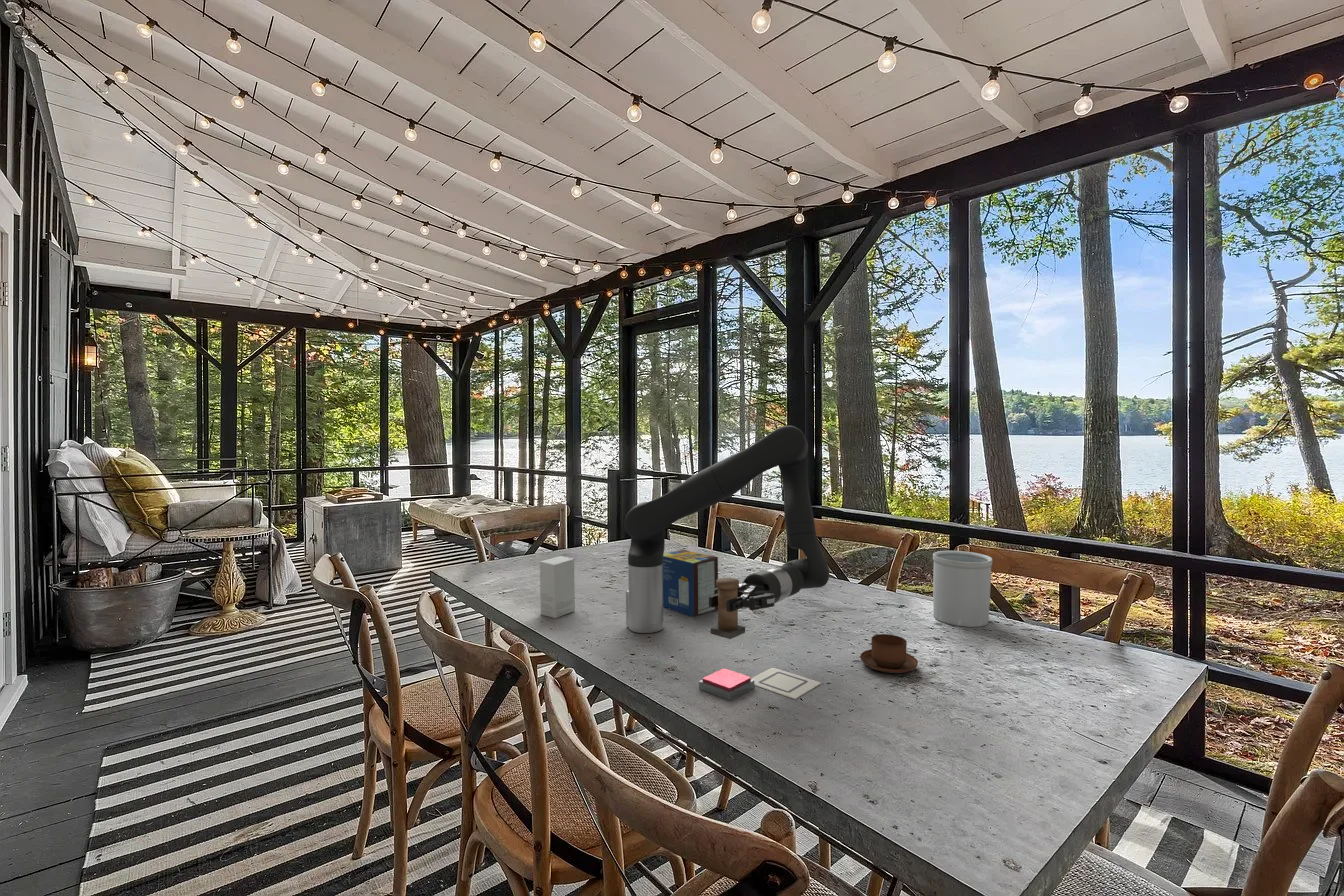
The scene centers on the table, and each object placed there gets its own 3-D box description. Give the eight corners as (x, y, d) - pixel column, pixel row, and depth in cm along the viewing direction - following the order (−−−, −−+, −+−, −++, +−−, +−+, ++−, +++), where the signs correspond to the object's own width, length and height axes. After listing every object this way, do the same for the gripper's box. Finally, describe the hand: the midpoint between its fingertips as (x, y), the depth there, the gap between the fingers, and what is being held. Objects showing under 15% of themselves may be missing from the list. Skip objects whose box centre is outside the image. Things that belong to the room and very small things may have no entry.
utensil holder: (1002, 621, 166) (1003, 557, 166) (972, 632, 158) (973, 564, 157) (951, 608, 179) (952, 548, 178) (920, 617, 170) (921, 554, 170)
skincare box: (560, 607, 182) (560, 555, 181) (576, 611, 178) (576, 558, 177) (539, 615, 175) (538, 560, 174) (555, 619, 171) (554, 563, 171)
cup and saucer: (849, 661, 139) (849, 635, 139) (890, 653, 144) (890, 627, 144) (886, 682, 128) (887, 653, 128) (930, 672, 133) (930, 644, 133)
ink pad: (699, 688, 125) (699, 678, 125) (723, 677, 131) (723, 666, 131) (730, 700, 120) (730, 689, 120) (754, 687, 126) (754, 677, 125)
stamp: (710, 633, 125) (710, 581, 125) (725, 627, 129) (725, 576, 128) (730, 639, 122) (729, 585, 121) (745, 632, 125) (744, 580, 125)
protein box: (682, 598, 190) (682, 549, 190) (719, 609, 179) (718, 556, 178) (657, 605, 183) (656, 554, 183) (693, 617, 172) (693, 562, 171)
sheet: (745, 682, 128) (745, 680, 128) (772, 668, 136) (772, 666, 136) (795, 699, 120) (795, 698, 120) (821, 683, 127) (821, 682, 127)
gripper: (741, 565, 140) (692, 580, 127) (795, 575, 130) (747, 592, 118) (741, 598, 140) (692, 615, 128) (795, 610, 131) (748, 631, 118)
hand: (719, 604), depth 123 cm, fingers closed on stamp, 4 cm apart
